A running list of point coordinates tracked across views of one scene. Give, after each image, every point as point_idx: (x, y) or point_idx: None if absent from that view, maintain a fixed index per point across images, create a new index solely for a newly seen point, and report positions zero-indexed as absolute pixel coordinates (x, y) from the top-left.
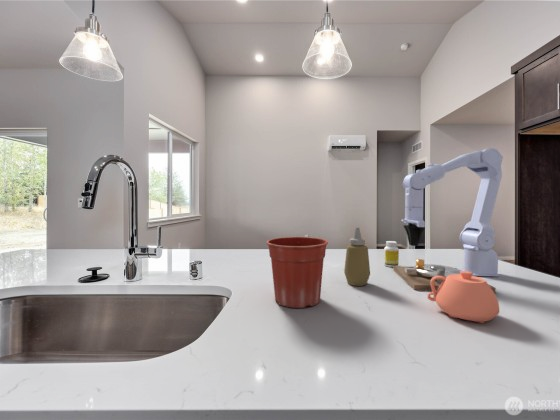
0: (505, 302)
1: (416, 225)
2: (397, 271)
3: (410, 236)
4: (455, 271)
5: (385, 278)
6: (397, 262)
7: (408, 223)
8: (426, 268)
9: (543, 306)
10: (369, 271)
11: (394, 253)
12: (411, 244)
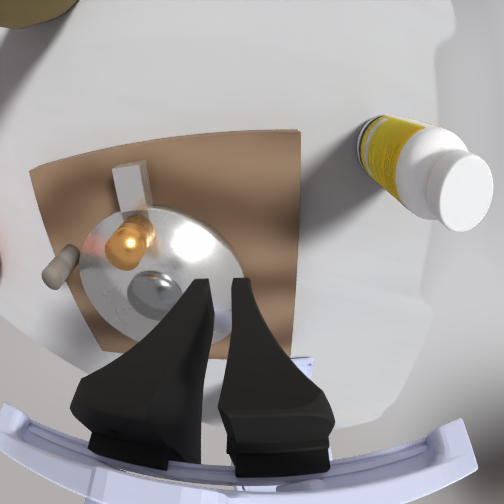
0: (59, 325)
1: (86, 445)
2: (220, 133)
3: (156, 327)
4: (147, 331)
5: (135, 70)
6: (371, 177)
7: (320, 465)
8: (153, 258)
9: (74, 360)
10: (12, 27)
11: (388, 173)
12: (191, 284)
